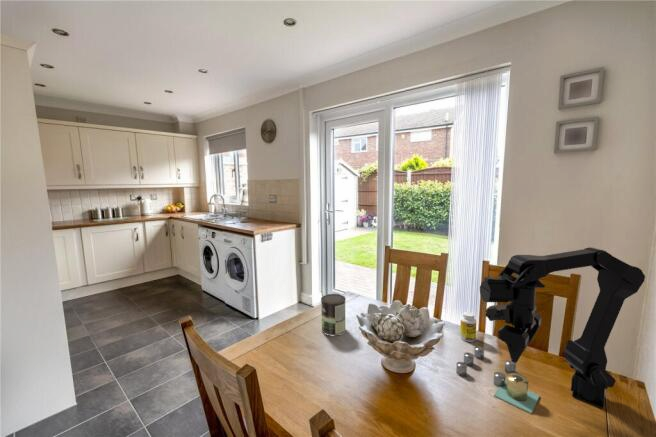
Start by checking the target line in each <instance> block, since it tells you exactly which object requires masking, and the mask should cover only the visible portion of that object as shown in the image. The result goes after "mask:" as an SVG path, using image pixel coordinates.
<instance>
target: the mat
mask: <svg viewBox="0 0 656 437" xmlns="http://www.w3.org/2000/svg"><path fill="white" fill-rule="evenodd" d="M506 388H507V380H505V386H503V387H502V386H499V387H497V390H496V391H495V392H494V394H493V397H494V398H496V399H497V398H498V399H499V400H501V401H503V402H505V403H508V404H510V405H512V406H514V407H516V408H519V409H521V410H523V411H524V412H526V413H529V414H531V415H532V414H533V411H534V409H535V407H536V405H537V403H538V401H539V399H540V397H541V396H540V394H537V393H536V392H532V391H531V390H528V395H527V400H526V401H517V400H514V399H512V398H511V397H509V396H508V395H507V393H506Z"/></svg>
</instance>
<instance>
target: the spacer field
mask: <svg viewBox="0 0 656 437" xmlns="http://www.w3.org/2000/svg"><path fill="white" fill-rule="evenodd" d="M473 348H474V351H473V353H471V352H464V353H463V361H457V362H456V368H455V369H456V375H458V376H460V377H467V372H468V371H467V370H468V367H473V366H474V364H475V362H474V361H475V360H474V359H475V358H476V359H478V360H484V358H485V349H484V347H481V346H477V345H475V346H474V347H473ZM467 366H468V367H467ZM504 371H505V373H506V374H507V375H508V374H509V373H517V363H515V362H512V360H511V359H510V360H509V359H506V360H505V361H504ZM507 375H505V374H504V373H502V372H499V371H494V372H493V385H494V386H496V387H497V388H499V386H502V387H503V386H505V381H506V379H507Z"/></svg>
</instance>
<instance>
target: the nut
mask: <svg viewBox="0 0 656 437" xmlns="http://www.w3.org/2000/svg"><path fill="white" fill-rule="evenodd" d="M506 381H507V388H506V393H507V395H508V396H509V397H511V398H512V399H514V400H517V401H526V400H527V395H528V391H529V380H528V378H526V377H525V376H524V375H522V374H521V373H517V372H516V373H509V374H508V373H507V375H506Z"/></svg>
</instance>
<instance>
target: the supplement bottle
mask: <svg viewBox="0 0 656 437" xmlns="http://www.w3.org/2000/svg"><path fill="white" fill-rule="evenodd" d="M459 327H460V329H459V330H460V332H459V336H460V338H461V340H463V341H464V342H469V343H472V342H476V339H477V336H476V335H477V319H476V318H475V314H474V313H473V312H471V311H464V312H463V314H462V316H461V317H460V326H459Z"/></svg>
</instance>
